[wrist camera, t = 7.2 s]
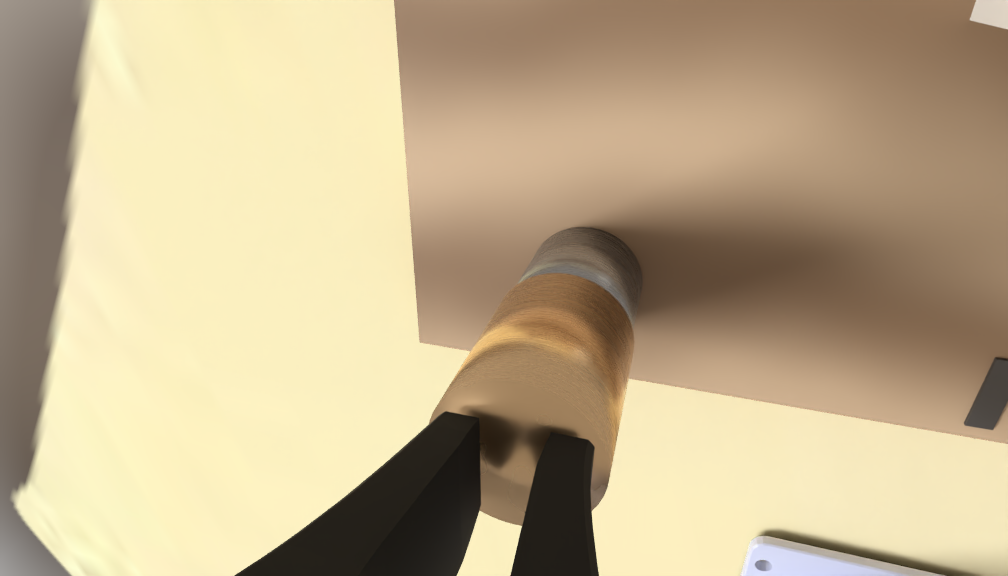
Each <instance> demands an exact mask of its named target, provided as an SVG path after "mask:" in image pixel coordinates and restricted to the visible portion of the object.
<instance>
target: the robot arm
mask: <svg viewBox="0 0 1008 576" xmlns="http://www.w3.org/2000/svg"><path fill="white" fill-rule="evenodd" d="M594 450H595V446H594V445H593V444H592V443H591V442H590V441H589V440H588V439H583V438H578V437H573V436H568V435H563V434H558V433H553V432H551V434H550V436H549V438H548V440H547V442H546V444H545V446H544V448H543V451H542V453H541V455H540V458H539V460H538V462H537V465H536V469H535V474H534V478H533V482H532V486H531V490H530V495H529V499H528V503H527V507H526V512H525V516H524V520H523V525H522V529H521V533H520V537H519V542H518V546H517V550H516V555H515V559H514V563H513V567H512V572H511V576H599V573H598V567H597V559H596V551H595V543H594V534H593V525H592V513H591V479H592V469H593V460H594ZM480 507H481V475H480V423H479V418H478V417H473V416H468V415H463V414H458V413H453V412H448V411H445V412H443V413H442V414H440V415H439V416H438V417H437V418H436V419H435V420H433V421H432V422H431V423H430V424H429V425H428V426H427V427H426V428H425V429H423V430H422V431H421V432H420V433H419V434H418V435H417V436H416V437H415V438H413V439H412V440H411V441H410V442H409V443H408V444H407V445H406V446H404V447H403V448H402V449H401V450H400V451H399V452H398V453H396V454H395V455H394V456H393V457H392V458H391V459H390V460H388V461H387V462H386V463H385V464H384V465H383V466H381V467H380V468H379V469H378V470H377V471H375V472H374V473H373V474H372V475H371V476H369V477H368V478H367V479H366V480H365V481H363V482H362V483H361V484H360V485H359V486H357V487H356V488H355V489H354V490H353V491H351V492H350V493H349V494H348V495H347V496H345V497H344V498H343V499H342V500H340V501H339V502H338V503H336V504H335V505H334V506H332V507H331V508H330V509H328V510H327V511H326V512H324V513H323V514H322V515H321V516H319V517H318V518H317V519H315V520H314V521H313V522H311V523H310V524H309V525H307V526H306V527H305V528H303V529H302V530H301V531H299V532H298V533H297V534H295V535H294V536H292V537H291V538H290V539H288V540H287V541H285V542H284V543H283V544H281V545H280V546H278V547H277V548H275V549H274V550H273V551H271V552H270V553H268V554H267V555H265V556H264V557H262V558H261V559H259V560H258V561H256V562H255V563H253V564H252V565H250V566H248V567H247V568H245V569H244V570H242V571H241V572H239V573H238V574H236V575H235V576H457V573H458V571H459V569H460V567H461V564H462V562H463V559H464V556H465V553H466V550H467V547H468V544H469V541H470V538H471V535H472V532H473V529H474V526H475V522H476V519H477V516H478V513H479V510H480ZM760 560H766V561H760ZM740 576H945V575H940V574H936V573H931V572H927V571H922V570H918V569H913V568H909V567H904V566H900V565H895V564H891V563H886V562H882V561H877V560H873V559H868V558H864V557H859V556H855V555H850V554H846V553H841V552H837V551H832V550H828V549H823V548H819V547H814V546H810V545H806V544H801V543H797V542H792V541H788V540H783V539H779V538H774V537H770V536H759V537H756V538H754V539H752V540H751V542H750V544H749V547H748V551H747V554H746V558H745V561H744V564H743V568H742V571H741V575H740Z"/></svg>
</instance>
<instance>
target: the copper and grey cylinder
mask: <svg viewBox="0 0 1008 576" xmlns="http://www.w3.org/2000/svg"><path fill="white" fill-rule="evenodd" d="M641 290H642V272H641V268H640V265H639V262H638V260H637V258H636V256H635V255H634V253H633V252H632V251H631V249H630V248H629V247H628V246H627V245H626V244H625V243H624V242H623V241H622V240H620V239H619V238H618V237H616V236H614V235H613V234H611V233H608V232H606V231H604V230H601V229H597V228H592V227H573V228H568V229H565V230H562V231H559V232H557V233H555V234H553V235H552V236H550V237H549V238H548V239H547V240H545V241H544V242H543V243H542V245H541V246H540V247H539V249H538V250H537V252H536V254H535V255H534V257H533V258H532V260H531V262H530V263H529V265H528V267H527V268H526V270H525V272H524V273H523V275H522V277H521V278H520V280H519V282H518V283H517V285H516V286H514V287H513V288H512V289H511V290H510V291H509V292H508V293H507V294H506V295H505V297H504V298H503V300H502V301H501V303H500V305H499V306H498V308H497V310H496V311H495V313H494V314H493V316H492V318H491V319H490V321H489V323H488V324H487V326H486V327H485V329H484V331H483V332H482V334H481V336H480V337H479V339H478V340H477V342H476V344H475V345H474V347H473V348H472V350H471V352H470V353H469V355H468V357H467V358H466V360H465V361H464V363H463V365H462V366H461V368H460V370H459V371H458V373H457V374H456V376H455V378H454V379H453V381H452V383H451V384H450V386H449V387H448V389H447V391H446V392H445V394H444V395H443V397H442V399H441V400H440V402H439V404H438V405H437V407H436V408H435V410H434V412H433V414H432V416H431V419H430V422H429V424H430V423H431V422H432V421H433V420H435V419H436V418H437V417H438V416H439V415H440V414H442V413H443V412H445V411H448V412H453V413H458V414H463V415H468V416H473V417H478V418H479V423H480V475H481V507H480V511H482V512H484V513H486V514H488V515H490V516H492V517H494V518H497V519H499V520H502V521H505V522H508V523H512V524H516V525H521V526H522V525H523V520H524V516H525V512H526V507H527V503H528V499H529V495H530V490H531V486H532V482H533V478H534V474H535V469H536V465H537V462H538V460H539V458H540V455H541V453H542V451H543V448H544V446H545V444H546V442H547V440H548V438H549V436H550V434H551V432H553V433H558V434H563V435H568V436H573V437H578V438H583V439H588V440H589V441H590V442H591V443H592V444H593V445H594V446H595V450H594V460H593V469H592V479H591V511H592V510H593V509H594V508H595V507H596V506H597V505H598V504H599V502H600V501H601V499H602V498H603V496H604V494H605V492H606V489H607V486H608V482H609V477H610V472H611V467H612V461H613V456H614V451H615V446H616V441H617V436H618V430H619V425H620V420H621V415H622V410H623V404H624V399H625V394H626V389H627V384H628V379H629V373H630V368H631V363H632V358H633V353H634V344H635V339H634V331H633V329H634V324H635V319H636V315H637V310H638V305H639V300H640V295H641Z"/></svg>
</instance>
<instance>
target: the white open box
mask: <svg viewBox="0 0 1008 576" xmlns="http://www.w3.org/2000/svg"><path fill="white" fill-rule="evenodd" d="M970 20H971V21H975V22H979V23H983V24H987V25H991V26H996V27H1000V28H1004V29H1008V0H976V2H975V5H974V8H973V11H972V14H971V17H970Z"/></svg>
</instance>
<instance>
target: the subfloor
mask: <svg viewBox="0 0 1008 576" xmlns="http://www.w3.org/2000/svg"><path fill="white" fill-rule="evenodd" d="M975 2H976V0H394V5H395V18H396V31H397V45H398V58H399V72H400V85H401V99H402V112H403V125H404V139H405V152H406V166H407V179H408V192H409V206H410V219H411V233H412V246H413V259H414V273H415V286H416V300H417V313H418V326H419V340H420V343H426V344H432V345H438V346H444V347H449V348H455V349H461V350H467V351H471V350H472V348H473V347H474V345H475V344H476V342H477V340H478V339H479V337H480V336H481V334H482V332H483V331H484V329H485V327H486V326H487V324H488V323H489V321H490V319H491V318H492V316H493V314H494V313H495V311H496V310H497V308H498V306H499V305H500V303H501V301H502V300H503V298H504V297H505V295H506V294H507V293H508V292H509V291H510V290H511V289H512V288H513V287H514V286H516V285H517V283H518V282H519V280H520V278H521V277H522V275H523V273H524V272H525V270H526V268H527V267H528V265H529V263H530V262H531V260H532V258H533V257H534V255H535V254H536V252H537V250H538V249H539V247H540V246H541V245H542V243H543V242H544V241H545V240H547V239H548V238H549V237H550V236H552V235H553V234H555V233H557V232H559V231H562V230H565V229H568V228H573V227H592V228H597V229H601V230H604V231H606V232H608V233H611V234H613V235H614V236H616V237H618V238H619V239H620V240H622V241H623V242H624V243H625V244H626V245H627V246H628V247H629V248H630V249H631V251H632V252H633V253H634V255H635V256H636V258H637V260H638V262H639V265H640V268H641V272H642V290H641V295H640V300H639V305H638V310H637V315H636V319H635V324H634V329H633V331H634V339H635V344H634V353H633V358H632V363H631V368H630V373H629V379H635V380H641V381H646V382H652V383H658V384H664V385H670V386H675V387H681V388H687V389H693V390H699V391H704V392H710V393H716V394H722V395H728V396H733V397H739V398H745V399H751V400H757V401H762V402H768V403H774V404H780V405H786V406H791V407H797V408H803V409H809V410H815V411H820V412H826V413H832V414H838V415H844V416H849V417H855V418H861V419H867V420H873V421H878V422H884V423H890V424H896V425H902V426H907V427H913V428H919V429H925V430H931V431H936V432H942V433H948V434H954V435H960V436H965V437H971V438H977V439H983V440H989V441H994V442H1000V443H1006V444H1008V29H1004V28H1000V27H996V26H991V25H987V24H983V23H979V22H975V21H971V20H970V17H971V14H972V11H973V8H974V5H975Z"/></svg>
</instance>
